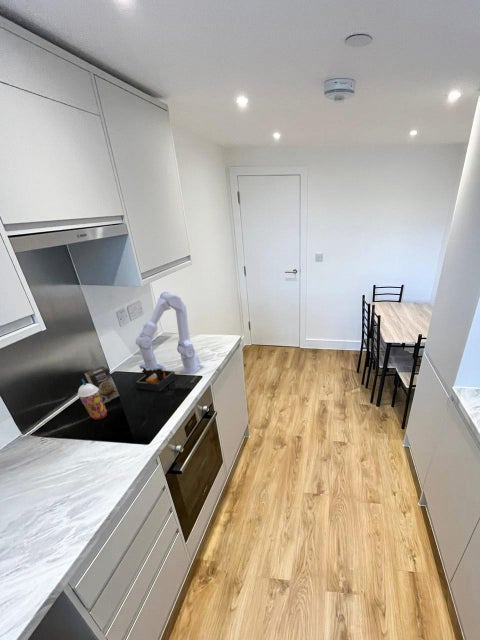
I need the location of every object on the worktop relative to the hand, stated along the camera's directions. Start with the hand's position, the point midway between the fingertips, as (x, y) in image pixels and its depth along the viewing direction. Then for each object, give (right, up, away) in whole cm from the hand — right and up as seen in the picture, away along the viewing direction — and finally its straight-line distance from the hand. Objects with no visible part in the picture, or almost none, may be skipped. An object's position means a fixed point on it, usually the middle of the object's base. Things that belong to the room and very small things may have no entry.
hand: (157, 381), depth 175 cm
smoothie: (-16, -18, -23) cm, 34 cm away
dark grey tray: (0, -1, +1) cm, 2 cm away
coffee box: (-20, -10, -10) cm, 25 cm away
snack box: (0, -1, +1) cm, 1 cm away
